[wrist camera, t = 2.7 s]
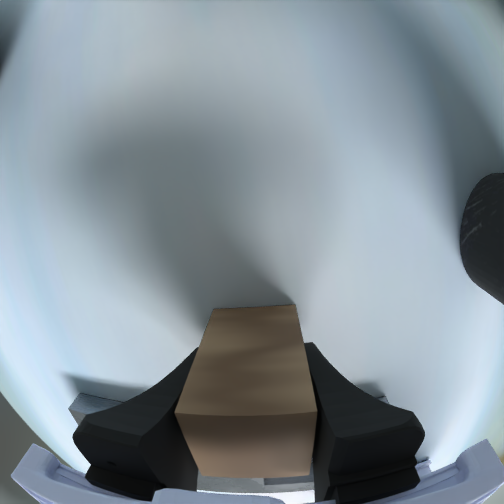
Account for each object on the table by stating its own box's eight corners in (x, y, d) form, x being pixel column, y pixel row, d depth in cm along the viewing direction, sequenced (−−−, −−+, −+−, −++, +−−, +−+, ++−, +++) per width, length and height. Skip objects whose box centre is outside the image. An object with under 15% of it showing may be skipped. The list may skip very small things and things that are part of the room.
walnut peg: (295, 304, 13) (317, 411, 6) (296, 368, 14) (309, 475, 7) (213, 308, 14) (174, 412, 7) (223, 371, 15) (201, 475, 8)
